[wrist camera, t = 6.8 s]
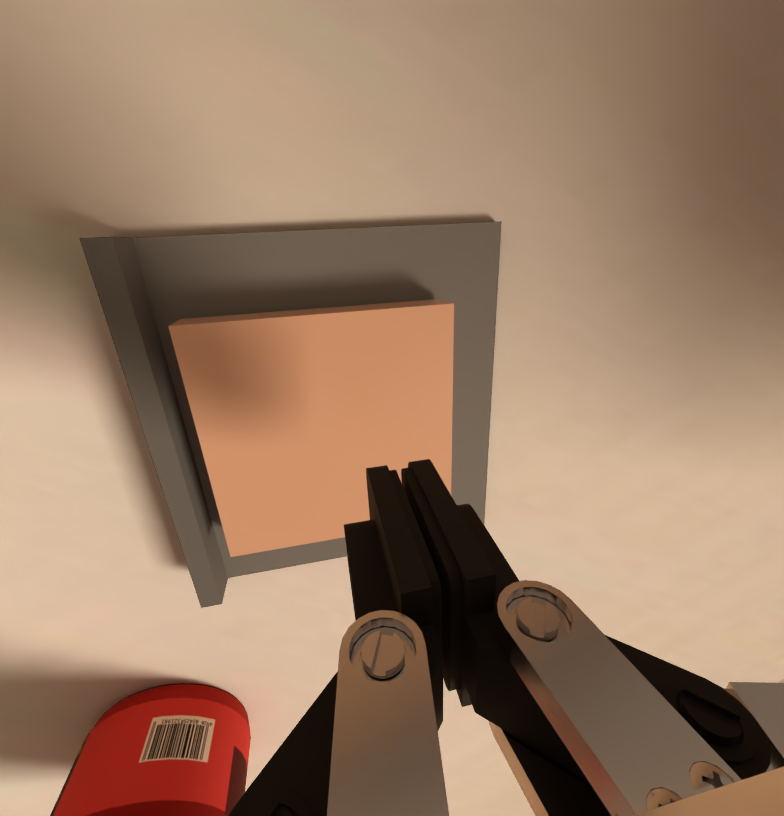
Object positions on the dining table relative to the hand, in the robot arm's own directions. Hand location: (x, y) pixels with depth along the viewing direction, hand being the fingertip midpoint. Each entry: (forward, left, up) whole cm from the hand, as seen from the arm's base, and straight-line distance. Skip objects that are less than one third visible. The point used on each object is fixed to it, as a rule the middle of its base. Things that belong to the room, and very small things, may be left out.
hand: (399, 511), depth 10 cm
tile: (-3, 0, -5) cm, 6 cm away
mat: (+1, 0, -7) cm, 7 cm away
